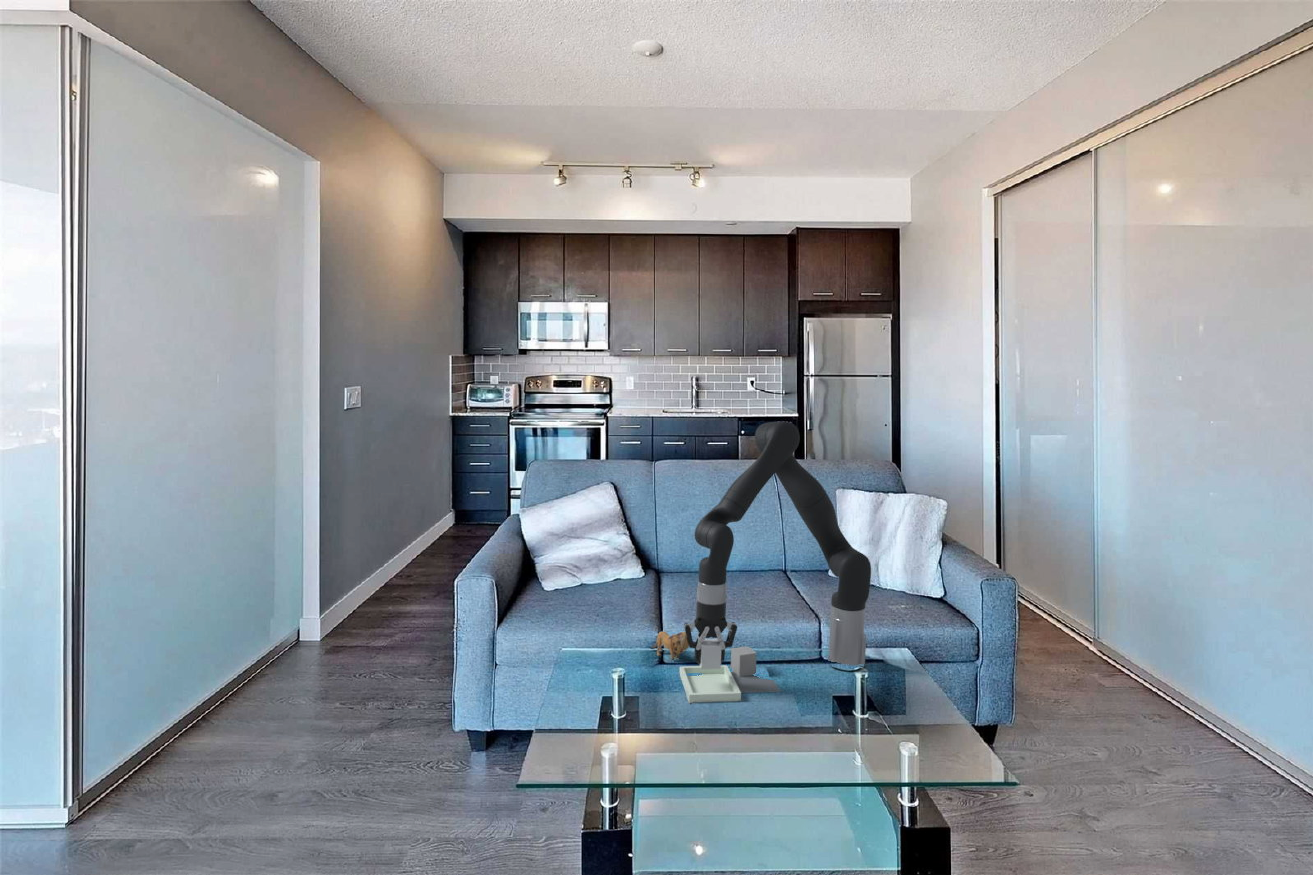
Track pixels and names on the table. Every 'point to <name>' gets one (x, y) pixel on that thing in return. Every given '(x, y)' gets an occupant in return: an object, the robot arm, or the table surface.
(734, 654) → the stone block
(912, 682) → the table surface
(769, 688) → the slate mat
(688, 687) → the sage tray
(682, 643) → the lion figurine
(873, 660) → the table surface
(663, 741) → the table surface
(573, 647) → the table surface
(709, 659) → the stone block
